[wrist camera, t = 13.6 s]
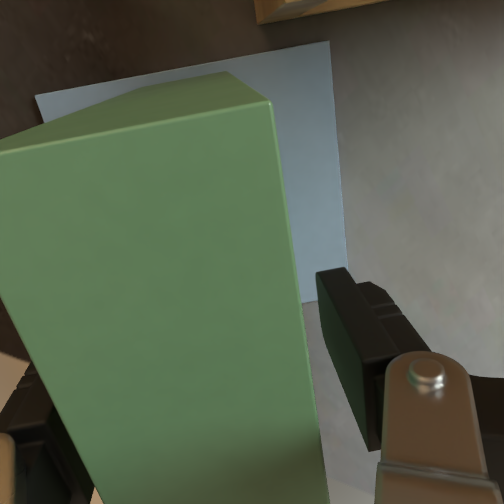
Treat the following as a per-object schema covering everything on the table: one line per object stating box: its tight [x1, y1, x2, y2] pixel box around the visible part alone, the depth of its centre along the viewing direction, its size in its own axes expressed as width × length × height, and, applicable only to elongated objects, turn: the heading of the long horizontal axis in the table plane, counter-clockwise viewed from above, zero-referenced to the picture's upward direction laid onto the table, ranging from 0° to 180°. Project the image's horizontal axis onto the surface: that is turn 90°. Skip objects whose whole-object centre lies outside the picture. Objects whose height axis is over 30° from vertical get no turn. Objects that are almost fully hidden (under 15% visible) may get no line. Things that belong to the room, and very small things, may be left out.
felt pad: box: [35, 40, 348, 303], centre depth 19 cm, size 12×12×1 cm
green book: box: [0, 71, 330, 504], centre depth 13 cm, size 4×11×14 cm, turn 10°
